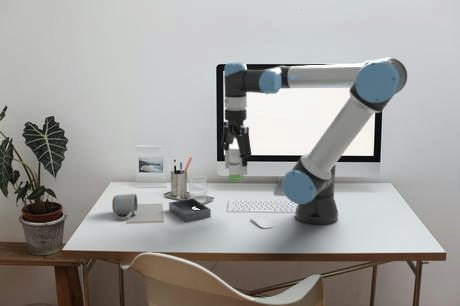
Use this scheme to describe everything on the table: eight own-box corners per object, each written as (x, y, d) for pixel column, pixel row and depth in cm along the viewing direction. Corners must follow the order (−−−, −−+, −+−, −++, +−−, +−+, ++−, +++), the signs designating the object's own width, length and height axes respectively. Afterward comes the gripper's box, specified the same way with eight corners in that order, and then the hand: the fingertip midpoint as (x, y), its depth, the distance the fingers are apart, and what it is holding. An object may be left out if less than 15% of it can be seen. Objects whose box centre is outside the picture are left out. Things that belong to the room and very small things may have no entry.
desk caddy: (193, 205, 216) (193, 198, 215) (210, 217, 204) (210, 209, 203) (169, 210, 211) (169, 202, 210) (185, 222, 199) (185, 214, 198)
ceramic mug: (116, 210, 210) (114, 191, 208) (138, 210, 211) (137, 190, 208) (110, 221, 200) (109, 201, 198) (133, 221, 200) (132, 200, 198)
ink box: (243, 182, 197) (243, 148, 194) (228, 182, 197) (228, 149, 194) (242, 175, 205) (242, 143, 202) (228, 175, 205) (228, 143, 202)
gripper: (210, 105, 202) (211, 165, 208) (242, 114, 184) (242, 180, 189) (229, 103, 206) (229, 162, 211) (262, 112, 187) (261, 177, 193)
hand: (235, 171), depth 200 cm, fingers closed on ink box, 9 cm apart
